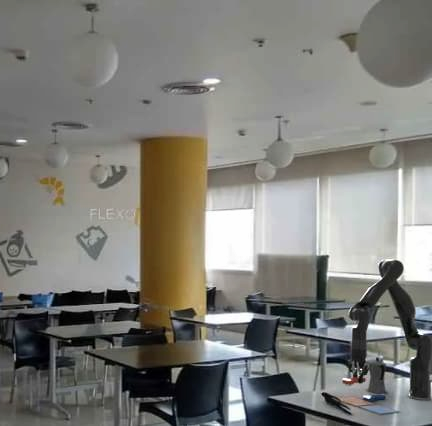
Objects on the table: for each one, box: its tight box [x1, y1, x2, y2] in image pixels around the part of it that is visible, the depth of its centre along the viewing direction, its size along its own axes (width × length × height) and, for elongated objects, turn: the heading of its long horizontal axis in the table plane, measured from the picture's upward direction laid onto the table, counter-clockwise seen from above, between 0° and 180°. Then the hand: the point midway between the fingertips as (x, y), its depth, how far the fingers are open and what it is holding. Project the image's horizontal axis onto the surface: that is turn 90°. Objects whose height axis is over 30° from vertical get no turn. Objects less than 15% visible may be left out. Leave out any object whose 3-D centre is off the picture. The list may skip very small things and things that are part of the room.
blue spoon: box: [362, 393, 387, 403], centre depth 311 cm, size 14×5×3 cm, turn 114°
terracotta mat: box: [335, 396, 376, 407], centre depth 306 cm, size 12×14×1 cm
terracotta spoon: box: [342, 376, 367, 386], centre depth 306 cm, size 14×5×3 cm, turn 114°
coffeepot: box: [367, 357, 387, 394], centre depth 330 cm, size 15×9×18 cm, turn 178°
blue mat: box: [359, 404, 399, 415], centre depth 292 cm, size 12×12×1 cm
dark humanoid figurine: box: [320, 391, 353, 416], centre depth 294 cm, size 8×9×25 cm
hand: (357, 382), depth 307 cm, fingers closed on terracotta spoon, 2 cm apart
